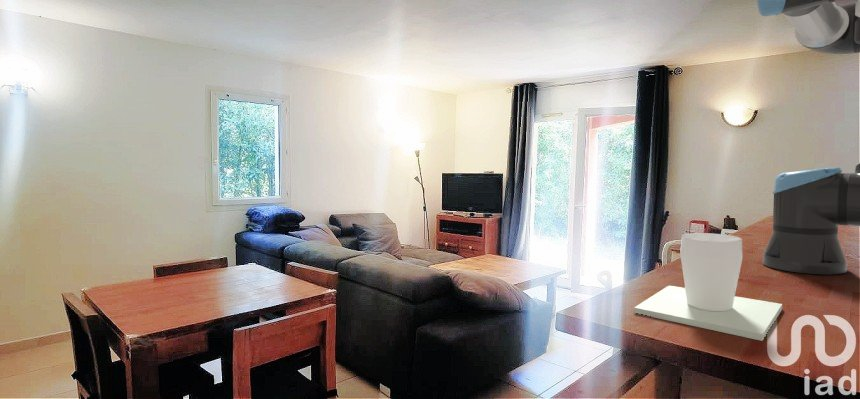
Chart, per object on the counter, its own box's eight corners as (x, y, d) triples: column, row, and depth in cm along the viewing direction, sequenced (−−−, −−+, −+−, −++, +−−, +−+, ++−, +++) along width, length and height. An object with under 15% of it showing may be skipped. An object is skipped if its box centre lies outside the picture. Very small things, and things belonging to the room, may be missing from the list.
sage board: (668, 290, 88) (669, 285, 88) (782, 309, 76) (782, 304, 76) (634, 313, 76) (634, 307, 76) (762, 341, 63) (762, 334, 63)
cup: (751, 315, 70) (754, 242, 69) (690, 313, 72) (691, 241, 71) (726, 298, 79) (728, 233, 78) (672, 296, 81) (673, 232, 80)
